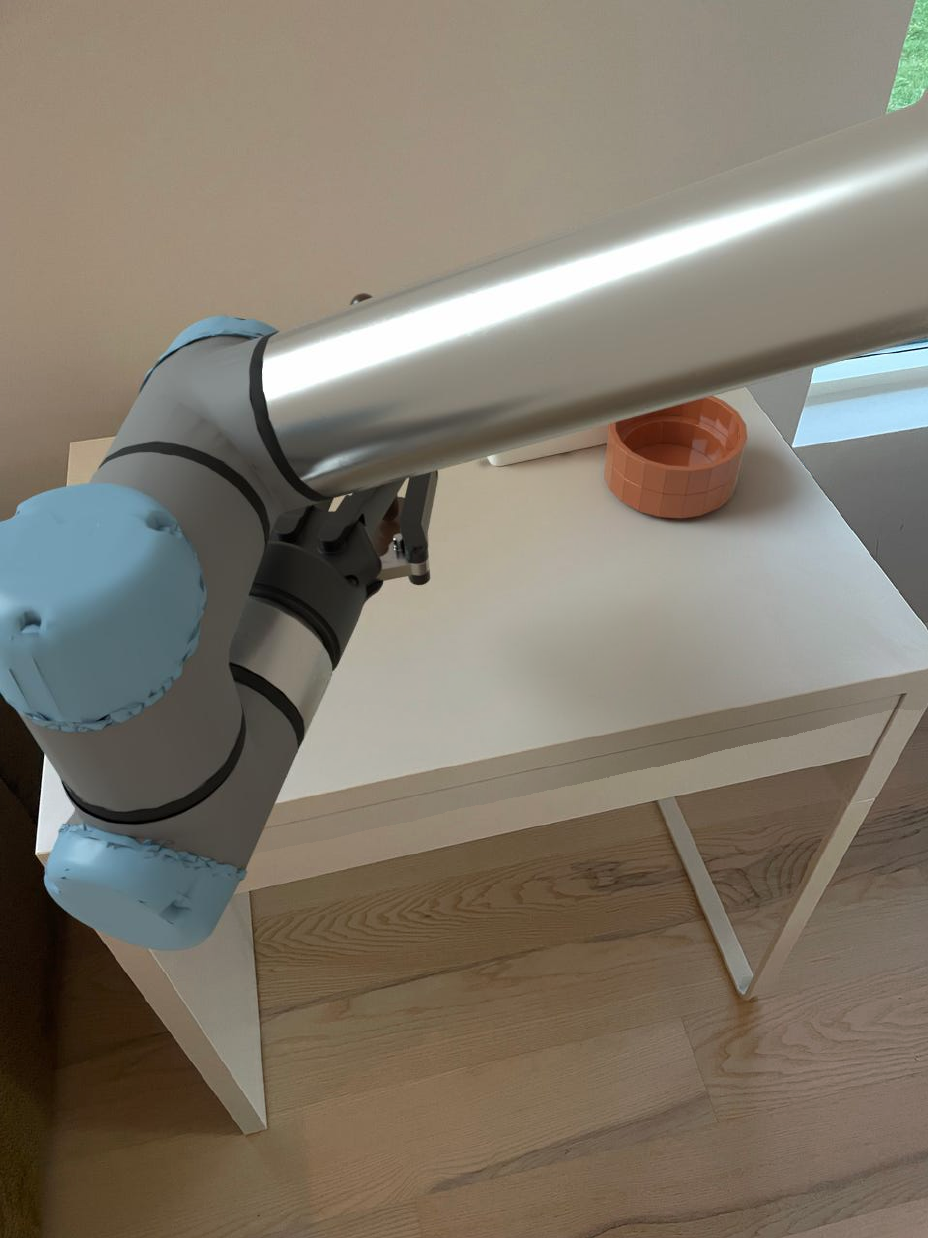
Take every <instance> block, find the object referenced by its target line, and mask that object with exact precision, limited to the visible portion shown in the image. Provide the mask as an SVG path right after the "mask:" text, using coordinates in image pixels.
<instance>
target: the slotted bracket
mask: <svg viewBox="0 0 928 1238" xmlns="http://www.w3.org/2000/svg"><path fill="white" fill-rule="evenodd" d="M608 427H609V424H606V425H603V426H599V427H595V428H592V429H588V430H584V431H581V432H577V433H573V434H569V435H566V436H562V437H558V438H555V439H551V440H547V441H544V442H540V443H536V444H532V445H529V446H525V447H521V448H518V449H514V450H510V451H507V452H503V453H499V454H495V455H492V456H488V457H486V458H487V459H488V462H489V463H490V464H491V465H492V466H494V467H503V466H507V465H512V464H517V463H522V462H526V461H530V460H536V459H540V458H545V457H550V456H554V455H559V454H563V453H569V452H573V451H577V450H582V449H586V448H592V447H597V446H600V445H605V444H606V445H607V437H608Z"/></svg>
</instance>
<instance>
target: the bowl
mask: <svg viewBox="0 0 928 1238" xmlns="http://www.w3.org/2000/svg"><path fill="white" fill-rule="evenodd" d="M747 429H748V428H747V424H746V422H745V421H744V419H743V417H742V416H741V414H740V412H738V411H737V410H736V409H735V408H734V407H732V406H731V405H730V404H728V403H727V402H726V401H725V400H723V399H720V398H718V397H716V396H715V395H714V396H710V397H706V398H703V399H699V400H695V401H691V402H688V403H684V404H680V405H677V406H673V407H669V408H666V409H662V410H658V411H655V412H651V413H647V414H643V415H640V416H636V417H632V418H629V419H625V420H621V421H618V422H614V423H610V424H609V427H608V437H607V443H606V448H605V457H604V469H603V477H604V481H605V483H606V484H607V487H608V489H609V491H610V492H611V493H612V494H613V496H615V497H617V499H618V500H619V501H621V502H622V503H623V504H624V505H627V506H629V507H630V508H632V509H634V510H636V511H637V512H640V513H643V514H647V515H651V516H654V517H658V518H670V519H688V518H694V517H700V516H701V517H702V516H704V515H706V514H708V513H710V512H713V511H715V510H718V509H720V508H721V507H722V506H724V505H725V504H726V503H727V502H728V501H729V500H730V499H731V498H732V496H733V494H734V492H735V489H736V487H737V485H738V479H739V476H740V471H741V467H742V463H743V459H744V455H745V449H746V447H747V441H748V430H747Z"/></svg>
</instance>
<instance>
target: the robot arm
mask: <svg viewBox="0 0 928 1238" xmlns="http://www.w3.org/2000/svg"><path fill="white" fill-rule="evenodd" d="M924 339H928V87H927V88H926V89H925V91H924V92H923V94H922V95H921V97H919V99H918V100H917V101H916V102H915V103H913V104H910V105H907V106H905V107H902V108H898V109H896V110H893V111H890V112H887V113H884V114H882V115H878V116H876V117H873V118H871V119H868V120H865V121H862V122H859V123H856V124H854V125H851V126H848V127H845V128H843V129H839V130H837V131H834V132H832V133H829V134H825V135H824V136H820V137H818V138H815V139H811V140H809V141H806V142H803V143H801V144H798V145H795V146H792V147H790V148H786V149H783V150H781V151H778V152H776V153H773V154H770V155H767V156H764V157H762V158H758V159H756V160H753V161H751V162H748V163H745V164H743V165H739V166H736V167H734V168H731V169H728V170H725V171H723V172H720V173H717V174H714V175H711V176H708V177H705V178H703V179H700V180H697V181H695V182H692V183H689V184H686V185H683V186H681V187H677V188H674V189H672V190H669V191H666V192H663V193H660V194H658V195H655V196H652V197H650V198H649V197H648V198H646V199H644V200H642V201H639V202H636V203H632V204H630V205H627V206H625V207H622V208H619V209H616V210H613V211H611V212H608V213H605V214H602V215H599V216H595V217H593V218H591V219H588V220H584V221H582V222H580V223H576V224H574V225H571V226H569V227H566V228H563V229H560V230H557V231H554V232H552V233H548V234H546V235H543V236H540V237H538V238H535V239H532V240H529V241H526V242H524V243H521V244H518V245H515V246H512V247H510V248H507V249H504V250H501V251H499V252H495V253H492V254H490V255H487V256H485V257H481V258H478V259H476V260H473V261H471V262H467V263H465V264H461V265H458V266H456V267H453V268H451V269H448V270H445V271H442V272H439V273H436V274H434V275H431V276H428V277H425V278H422V279H420V280H417V281H414V282H412V283H408V284H406V285H403V286H400V287H397V288H394V289H391V290H389V291H385V292H383V293H380V294H378V295H374V296H372V298H369V299H366V300H364V301H361V302H358V303H355V304H352V305H350V304H349V305H347V306H344V307H341V308H338V309H335V310H333V311H330V312H327V313H325V314H322V315H319V316H316V317H314V318H311V319H307V320H305V321H302V322H299V323H296V324H294V325H290V326H288V327H285V328H282V329H280V330H278V329H277V328H275V327H273V326H271V325H270V324H268V323H266V322H264V321H261V320H258V319H255V318H241V317H234V316H229V315H227V314H224V315H215V316H210V317H206V318H203V319H201V320H199V321H196V322H194V323H192V324H190V325H189V326H188V327H186V328H185V329H184V330H183V331H182V332H180V333H179V334H178V335H177V336H176V338H175V339H174V340H173V341H172V343H171V344H170V346H169V347H168V348H167V350H166V351H165V352H164V353H163V354H162V355H160V356H159V357H158V359H157V361H156V362H155V364H154V365H153V367H151V368H150V369H148V370H147V373H146V375H145V377H144V378H143V381H142V384H141V386H140V388H139V391H138V394H137V398H136V400H135V401H134V403H133V405H132V407H131V409H130V411H128V414H127V416H126V418H125V419H124V421H123V423H122V425H121V426H120V428H119V430H118V432H117V433H116V435H115V437H114V439H113V441H112V443H111V444H110V446H109V447H108V450H107V452H106V453H105V455H104V457H103V458H102V461H101V462H100V464H99V465H98V468H97V470H96V471H95V472H94V473H93V474H92V476H91V478H90V480H89V481H88V482H85V483H78V484H77V483H76V484H70V485H67V486H61V487H57V488H53V489H49V490H47V491H44V492H41V493H38V494H35V495H34V496H32V497H30V498H28V499H26V500H24V501H22V502H21V503H19V504H18V505H17V507H16V511H15V514H14V516H12V517H11V518H8V519H6V520H2V521H0V694H1V695H2V697H3V698H4V700H5V702H6V703H7V704H8V705H10V706H11V707H12V708H13V709H15V711H16V712H17V713H18V715H19V717H20V719H22V721H23V722H24V724H25V726H26V727H27V729H28V730H29V732H30V734H31V735H32V736H33V738H34V740H35V741H36V743H37V745H38V746H39V747H40V749H41V750H42V752H43V754H44V755H45V757H46V758H47V760H48V762H49V763H50V764H51V766H52V767H53V769H54V771H55V772H56V774H57V775H58V777H59V779H60V783H61V785H62V788H63V790H64V793H65V795H66V797H67V798H68V800H69V802H70V803H71V805H72V806H73V808H74V811H73V813H72V815H70V817H69V818H68V819H67V821H66V822H65V823H62V824H61V826H60V827H59V829H58V831H57V838H56V840H55V842H54V844H53V846H52V849H51V851H50V854H49V856H48V858H47V860H46V862H45V865H44V876H43V883H44V886H45V888H46V891H47V892H48V895H50V897H51V898H52V899H53V901H54V902H55V903H56V904H57V905H58V906H59V907H61V908H62V909H63V910H64V911H65V912H66V913H68V914H69V915H70V916H72V917H73V918H74V919H76V920H78V921H79V922H81V923H83V924H85V926H88V927H89V928H92V929H93V930H95V931H97V932H99V933H102V934H103V935H105V936H108V937H110V938H113V939H115V940H118V941H120V942H123V943H127V944H130V945H134V946H137V947H141V948H145V949H149V950H154V951H161V952H162V951H164V952H179V951H185V950H189V949H192V948H195V947H198V946H199V945H201V944H202V943H204V942H205V941H206V940H207V939H208V938H210V936H211V935H212V934H213V932H214V931H215V929H216V927H217V926H218V923H219V921H220V920H221V919H222V916H223V914H224V912H225V911H226V909H227V907H228V905H229V903H230V901H231V900H232V897H233V895H234V894H235V892H236V890H237V888H238V886H239V885H240V883H241V882H243V881H244V880H245V879H246V877H247V874H248V870H247V868H248V865H249V863H250V860H251V859H252V856H253V854H254V852H255V849H256V847H257V845H258V843H259V840H260V838H261V836H262V834H263V832H264V829H265V827H266V825H267V823H268V819H269V818H270V816H271V814H272V811H273V808H274V807H275V804H276V802H277V800H278V798H279V795H280V793H281V791H282V788H283V786H284V784H285V781H286V779H287V777H288V775H289V773H290V770H291V768H292V766H293V763H294V761H295V759H296V756H297V754H298V753H299V749H300V748H301V745H302V743H303V742H304V740H305V738H306V736H307V733H308V731H309V729H310V726H311V725H312V723H313V720H314V718H315V716H316V713H317V711H318V709H319V707H320V704H321V703H322V700H323V698H324V696H325V693H326V691H327V689H328V687H329V685H330V682H331V680H332V676H333V672H334V671H335V670H336V669H337V668H338V665H339V664H340V661H341V660H342V657H343V655H344V653H345V650H346V649H347V646H348V644H349V642H350V640H351V638H352V635H353V633H354V630H355V628H356V626H357V624H358V622H359V619H360V617H361V614H362V611H363V609H364V606H365V604H366V603H367V601H369V600H370V599H371V598H372V597H373V596H375V595H377V594H378V593H379V591H381V589H382V587H383V585H384V582H386V581H391V580H395V579H400V578H405V577H407V578H408V581H409V582H410V583H411V584H412V585H414V586H423V585H426V584H427V583H429V581H430V580H431V568H430V567H431V566H430V555H429V546H428V543H429V542H428V543H427V535H428V536H429V529H430V525H431V519H432V518H431V517H432V512H433V508H434V502H435V497H436V490H437V486H438V480H439V471H440V470H443V469H447V468H450V467H451V468H452V467H454V466H459V465H463V464H466V463H469V462H473V461H476V460H481V459H484V458H487V457H488V456H492V455H495V454H499V453H503V452H507V451H510V450H514V449H518V448H521V447H525V446H529V445H532V444H536V443H540V442H544V441H547V440H551V439H555V438H558V437H562V436H566V435H569V434H573V433H577V432H581V431H584V430H588V429H592V428H595V427H599V426H603V425H606V424H610V423H614V422H618V421H621V420H625V419H629V418H632V417H636V416H640V415H643V414H647V413H651V412H655V411H658V410H662V409H666V408H669V407H673V406H677V405H680V404H684V403H688V402H691V401H695V400H699V399H703V398H706V397H710V396H714V397H715V396H718V395H721V394H725V393H728V392H732V391H737V390H739V389H743V388H747V387H750V386H754V385H758V384H761V383H765V382H768V381H769V382H770V381H773V380H775V379H780V378H783V377H787V376H791V375H794V374H798V373H799V374H800V373H802V372H807V371H809V370H813V369H818V368H822V367H824V366H828V365H833V364H835V363H839V362H843V361H847V360H851V359H855V358H858V357H861V356H865V355H868V354H872V353H876V352H880V351H885V350H887V349H891V348H895V347H898V346H902V345H906V344H909V343H913V342H917V341H921V340H924ZM407 479H408V481H407V485H406V490H405V493H404V494H405V495H404V498H405V499H404V504H403V508H402V513H401V518H400V532H401V534H395V535H394V536H393V541H392V542H391V543H390V544H389V548H388V552H387V553H386V554H385V555H383V556H380V557H379V555H378V553H377V551H376V549H375V547H374V544H373V542H372V541H373V535H374V532H375V530H376V528H377V527H378V525H379V523H380V522H381V520H382V518H383V517H384V515H385V513H386V512H387V510H388V508H389V507H390V505H391V503H392V502H393V500H394V499H395V497H396V495H397V494H398V495H399V492H400V490H401V489H402V487H403V485H404V484H405V482H406V480H407ZM341 497H343V499H342V500H341V501H340V502H339V505H338V506H337V508H336V510H334V511H332V510H331V511H330V509H331V506H332V504H333V501H334V499H336V498H341Z"/></svg>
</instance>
